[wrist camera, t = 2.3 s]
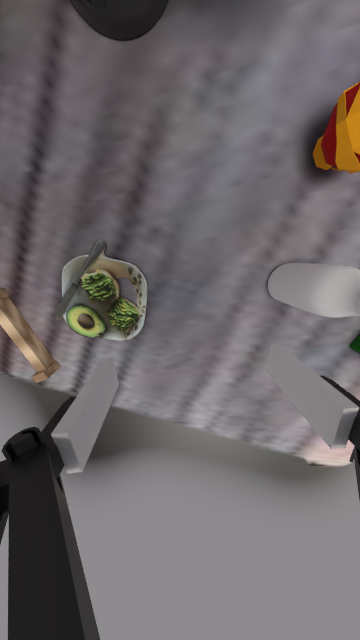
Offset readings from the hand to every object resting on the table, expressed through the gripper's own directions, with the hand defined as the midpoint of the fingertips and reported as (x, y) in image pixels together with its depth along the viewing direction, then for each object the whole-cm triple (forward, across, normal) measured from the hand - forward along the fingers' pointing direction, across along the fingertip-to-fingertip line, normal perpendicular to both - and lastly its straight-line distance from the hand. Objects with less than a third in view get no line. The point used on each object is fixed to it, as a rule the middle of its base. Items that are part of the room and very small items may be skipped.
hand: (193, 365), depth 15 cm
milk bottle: (+24, +22, +2) cm, 32 cm away
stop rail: (+23, -33, -4) cm, 40 cm away
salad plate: (+24, -16, +1) cm, 29 cm away
